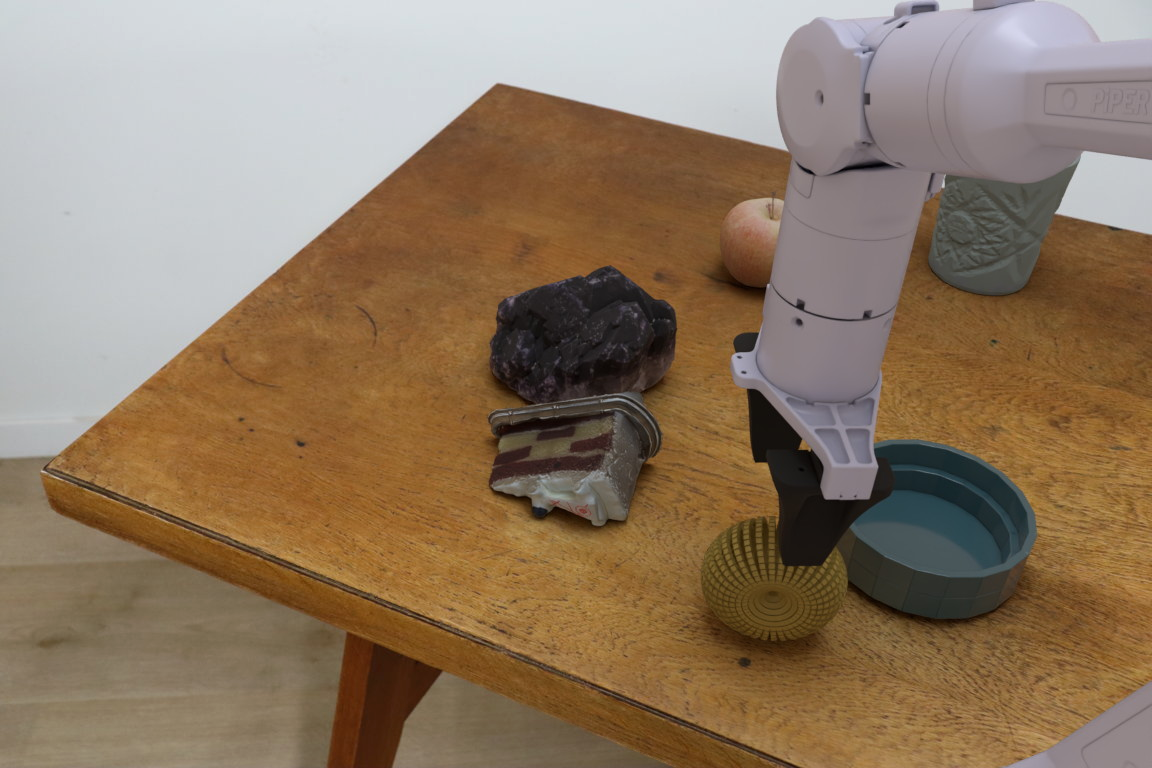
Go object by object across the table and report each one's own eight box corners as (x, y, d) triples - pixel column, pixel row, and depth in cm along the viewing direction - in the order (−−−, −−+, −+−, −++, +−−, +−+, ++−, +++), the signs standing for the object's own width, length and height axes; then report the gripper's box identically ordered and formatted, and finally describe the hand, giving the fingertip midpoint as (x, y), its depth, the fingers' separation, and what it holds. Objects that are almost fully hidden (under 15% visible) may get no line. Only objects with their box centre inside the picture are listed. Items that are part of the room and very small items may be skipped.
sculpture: (831, 611, 65) (859, 512, 60) (833, 666, 62) (863, 565, 57) (695, 591, 65) (711, 491, 61) (690, 644, 62) (707, 543, 57)
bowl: (1048, 623, 65) (1070, 575, 62) (847, 626, 64) (861, 578, 61) (977, 484, 74) (993, 438, 72) (801, 485, 73) (812, 439, 71)
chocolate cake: (446, 504, 71) (570, 453, 63) (477, 416, 75) (596, 357, 67) (555, 572, 75) (683, 533, 67) (578, 485, 79) (702, 438, 71)
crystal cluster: (487, 325, 88) (476, 219, 81) (656, 309, 89) (658, 203, 82) (496, 443, 78) (483, 334, 71) (686, 425, 79) (691, 315, 72)
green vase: (924, 291, 94) (960, 161, 87) (913, 233, 102) (946, 110, 95) (1047, 306, 93) (1094, 175, 86) (1027, 246, 101) (1068, 123, 94)
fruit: (722, 249, 98) (734, 166, 93) (805, 264, 96) (822, 181, 92) (706, 293, 92) (718, 207, 87) (795, 309, 91) (812, 223, 86)
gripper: (720, 207, 55) (691, 419, 63) (778, 383, 44) (733, 614, 52) (859, 209, 56) (812, 419, 64) (953, 384, 44) (880, 613, 52)
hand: (785, 507), depth 58 cm, fingers open, 7 cm apart
